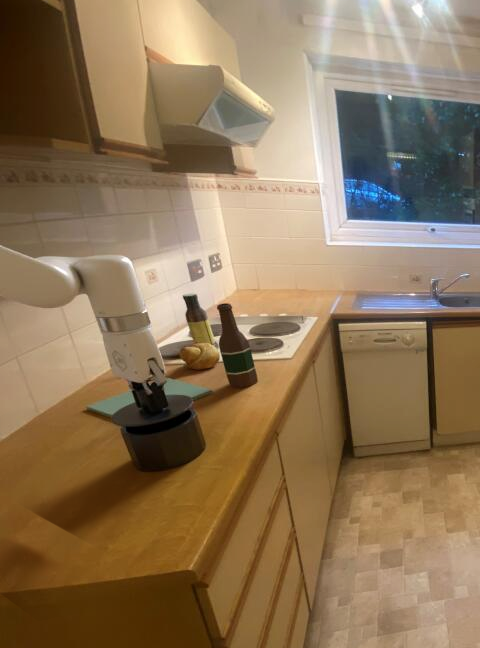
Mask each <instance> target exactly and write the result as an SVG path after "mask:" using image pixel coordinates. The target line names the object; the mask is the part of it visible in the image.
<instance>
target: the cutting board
mask: <svg viewBox="0 0 480 648" xmlns="http://www.w3.org/2000/svg"><path fill="white" fill-rule="evenodd" d="M165 378H166V379H167V382H166V383H165V384H164V388H165V389H164V392H165V395H186V396H189V397H191V398H192V399H193V400H194V401H196V400H199V399H201V398H203V396H204V397H205V396H208V395H211V394H213V393H214V391H213V389H211V388H207V387H203V386H200V385H197V384H193V383H188V382H184V381H180V380H178V379H174V378H169V377H165ZM149 385H151V383H149ZM198 398H199V399H198ZM134 402H135V400H134V397H133V394H132V390H131V389H130V390H129V391H126V392H123V393H119V394H117V395H114V396H111V397H108V398H105V399H103V400H100V401H95V402H94V403H90V404H88V405H85V408H86V410H88V411H91V412H93V413H97V414H100V415H102V416H105V417H108V418H111V417H112V415H113V414H114V413H115V412H116V411H118V410H119V409H121V408H123V407H125V406H127V405H129V404H132V403H134Z"/></svg>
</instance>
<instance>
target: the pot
mask: <svg viewBox="0 0 480 648" xmlns="http://www.w3.org/2000/svg"><path fill="white" fill-rule="evenodd" d="M201 426H202V425H201V423H200V420H199V417H198V414H197V412H196V409H195V408H192V407H191V408H190V409H189V410H187V411H186V412H184V413H182V414H180V415H178V416H176V417H174V418H171V419H168V420H165V421H162V422H158V423H154V424H149V425H143V426H134V427H124V426H120V429H119V430H120V434H121V437H122V440H123V442H124V444H125V448H126V450H127V452H128V454H129V457H130V459H131V462H132V465H133V467H134V469H136V470H137V471H139V472H145V473H157V472H162V471H167V470H171V469H175V468H178V467H180V466H183V465H186V464H188V463H190V462H192V461H194V460H195V459H197V458H198V457H200V456H201V455H202V454H203V453H204V452H205V450H206V448H207V443H206V440H205V436H204V434H203V433H204V432H203V430H202V427H201Z"/></svg>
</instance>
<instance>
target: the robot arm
mask: <svg viewBox="0 0 480 648" xmlns="http://www.w3.org/2000/svg"><path fill="white" fill-rule="evenodd" d="M133 265H134V264H133V263H132V261H131V260H130V259H129V258H128V257H127V256H125V255H122V254H98V255H90V256H84V257H83V256H82V257H81V256H80V257H79V256H57V255H55V256H54V255H53V256H52V255H43V256H37V257H31V256H28V255H26V254H23V253H21V252H19V251H16V250H13V249H12V248H8V247H6V246H3V245H1V244H0V297H1V298H4V299H7V300H10V301H13V302H16V303H20V304H23V305H26V306H30V307H34V308H41V309H56V308H62V307H65V306H66V305H69V304H70V303H72V302H73V301H74V300H75V298H76V297H78V296H81V295H86V296H87V298H88V301H89V303H90V306H91V309H92V312H93V315H94V317H95V321H96V323H97V326H98V328H99V332H100V334H101V335H102V340H103V346H104V349H105V353H106V356H107V361H108V363H109V367H110V370H111V372H112V374H113V375H114V376H115V377H118V378H120V379H123V380H125V381H127V385H128V388H129V389H130V391H131V390H132V394H133V397H134V400H135V403H136V405H137V407H138V408H141V405H140V402H139V399H138V396H137V393H136V390H137V389H138V388H140V387H143V386H144V389H145V391H146V393H147V394H145V398H146V400H147V403H148V406H149V409H150V411H151V412H156V411H159V410H161V409H164V408H166V407H168V406H169V405H168V401H167V398H166V395H165V392H164V389H165V388H164V384H165V383H166V382H167V379H166V378H167V377H166V376H165V375H166V373H167V371H166V365H165V362H164V358H163V357H162V354H161V351H160V348H159V346H158V344H157V343H158V342H157V341H156V338H155V337H154V334H153V332H152V329H151V328H152V326H153V325H152V323H151V320H150V316H149V312H148V310H147V307H146V303H145V300H144V296H143V294H142V290H141V288H140V287H141V286H140V284H139V281H138V278H137V274H136V272H135V269H134V266H133ZM150 375H151V376H150ZM150 382H151V383H150ZM149 384H151V385H149Z"/></svg>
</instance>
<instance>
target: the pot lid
mask: <svg viewBox="0 0 480 648" xmlns="http://www.w3.org/2000/svg"><path fill="white" fill-rule="evenodd" d="M136 393H137V396H138V399H139V402H140V405H141V408H138V407H137V405H136V403H135V402H134V403H132V404H129V405H127V406H125V407H123V408H121V409H119V410H118V411H116V412H115V413H114V414H113V415H112V417H110V419H111V422H112V424H113V425H115V426H118V427H122V426H124V427H134V426H143V425H149V424H154V423H158V422H162V421H165V420H168V419H171V418H174V417H176V416H178V415H180V414H182V413H184V412H186V411H187V410H189V409H190V408H192V407H193V406H194V401H193V399H192V398H191V397H189V396H186V395H166V398H167V401H168V405H169V406H168V407H166V408H164V409H161V410H159V411H156V412H151V411H150V409H149V406H148V403H147V400H146V398H145V394H147V393H146V391H145V389H144V386H143V387H140V388H138V389H137V390H136Z"/></svg>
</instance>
